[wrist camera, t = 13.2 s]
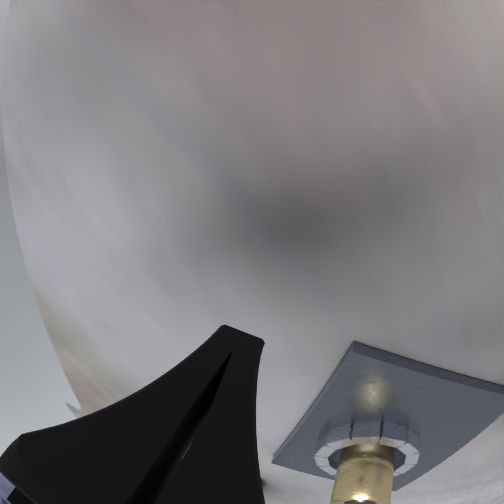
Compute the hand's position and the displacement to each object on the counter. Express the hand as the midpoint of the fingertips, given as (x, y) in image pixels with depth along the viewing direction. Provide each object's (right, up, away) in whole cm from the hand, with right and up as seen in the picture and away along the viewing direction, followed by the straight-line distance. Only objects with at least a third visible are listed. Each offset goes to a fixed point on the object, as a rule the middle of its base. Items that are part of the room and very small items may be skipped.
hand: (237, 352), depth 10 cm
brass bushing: (+11, -14, +14) cm, 23 cm away
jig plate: (+12, -14, +14) cm, 23 cm away
